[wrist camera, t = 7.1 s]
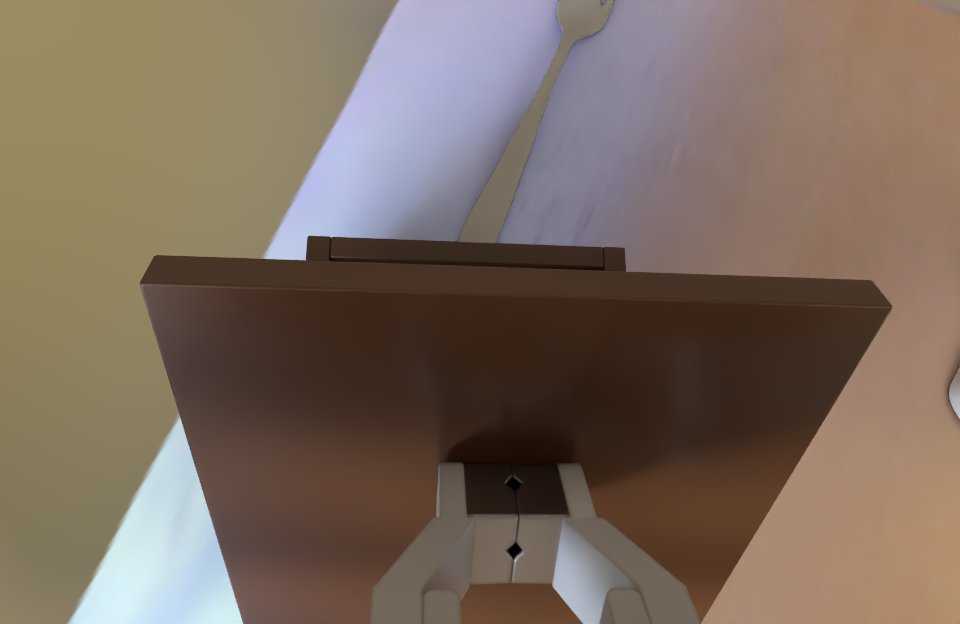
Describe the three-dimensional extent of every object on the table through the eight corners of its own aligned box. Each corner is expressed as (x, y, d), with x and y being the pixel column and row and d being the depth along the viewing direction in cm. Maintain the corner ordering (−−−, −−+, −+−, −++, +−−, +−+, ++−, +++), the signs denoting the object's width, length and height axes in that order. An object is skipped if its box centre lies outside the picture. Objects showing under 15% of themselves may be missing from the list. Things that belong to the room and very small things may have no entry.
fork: (437, 255, 37) (438, 242, 35) (589, -62, 44) (596, -85, 42) (492, 279, 37) (496, 267, 35) (635, -43, 44) (644, -66, 42)
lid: (153, 253, 12) (137, 283, 11) (872, 279, 13) (894, 306, 12) (270, 672, 22) (265, 699, 22) (654, 665, 23) (660, 690, 23)
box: (332, 303, 35) (307, 235, 27) (575, 311, 37) (624, 247, 28) (309, 638, 31) (270, 682, 22) (589, 634, 32) (652, 675, 23)
